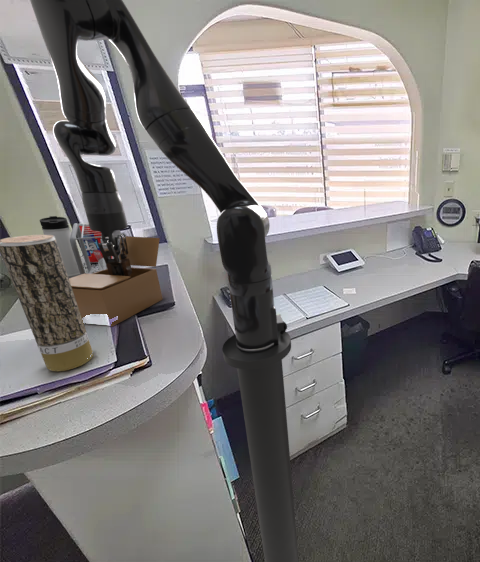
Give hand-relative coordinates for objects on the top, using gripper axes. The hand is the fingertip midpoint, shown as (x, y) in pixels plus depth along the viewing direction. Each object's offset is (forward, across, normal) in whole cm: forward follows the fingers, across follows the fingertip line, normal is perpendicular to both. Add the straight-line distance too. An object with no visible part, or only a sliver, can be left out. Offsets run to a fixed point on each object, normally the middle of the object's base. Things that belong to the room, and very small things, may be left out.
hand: (121, 274), depth 84 cm
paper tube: (+9, -28, +4) cm, 30 cm away
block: (0, 0, 0) cm, 0 cm away
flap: (-5, +5, -3) cm, 8 cm away
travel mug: (+9, +33, +23) cm, 41 cm away
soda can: (+9, +51, +20) cm, 55 cm away
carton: (+9, -3, +2) cm, 10 cm away
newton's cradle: (+9, +23, +10) cm, 27 cm away
